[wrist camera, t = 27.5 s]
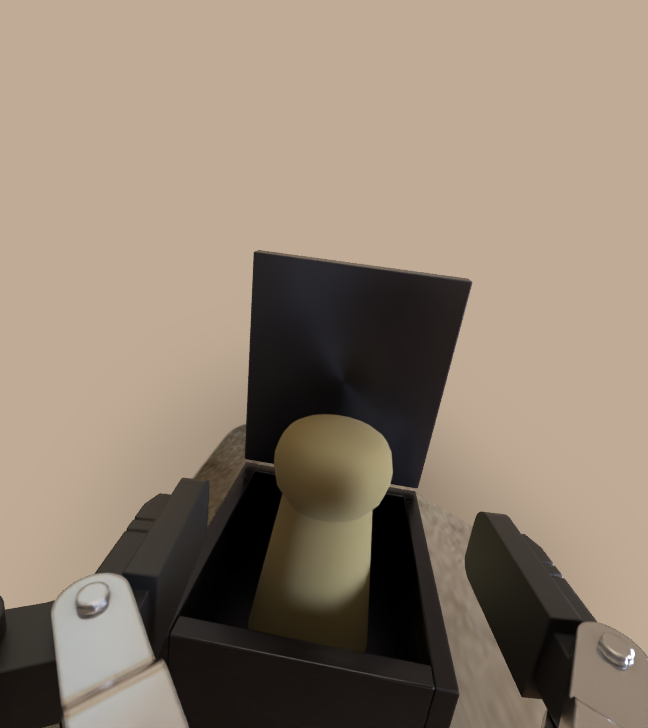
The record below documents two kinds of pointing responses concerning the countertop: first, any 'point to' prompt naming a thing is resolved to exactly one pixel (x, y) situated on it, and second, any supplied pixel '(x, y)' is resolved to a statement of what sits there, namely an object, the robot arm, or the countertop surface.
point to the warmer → (304, 658)
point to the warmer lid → (350, 351)
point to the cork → (323, 532)
